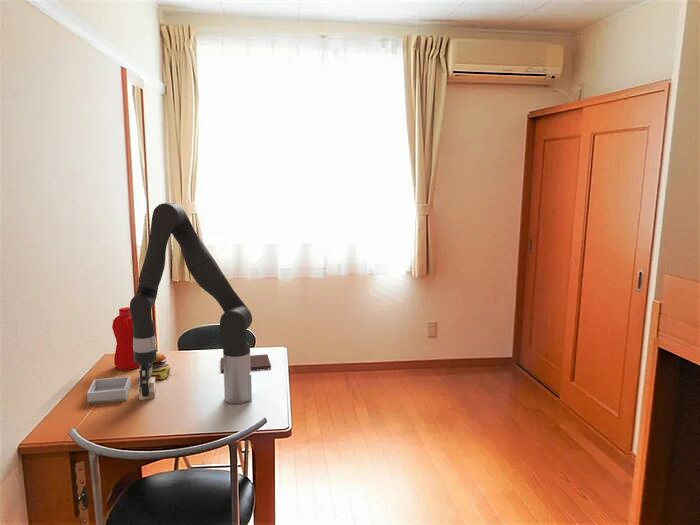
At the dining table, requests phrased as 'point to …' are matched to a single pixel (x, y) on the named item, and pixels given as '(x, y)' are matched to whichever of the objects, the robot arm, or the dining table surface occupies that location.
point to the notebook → (254, 362)
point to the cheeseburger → (160, 367)
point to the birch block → (151, 389)
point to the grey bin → (109, 390)
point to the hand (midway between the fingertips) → (147, 391)
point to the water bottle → (124, 340)
